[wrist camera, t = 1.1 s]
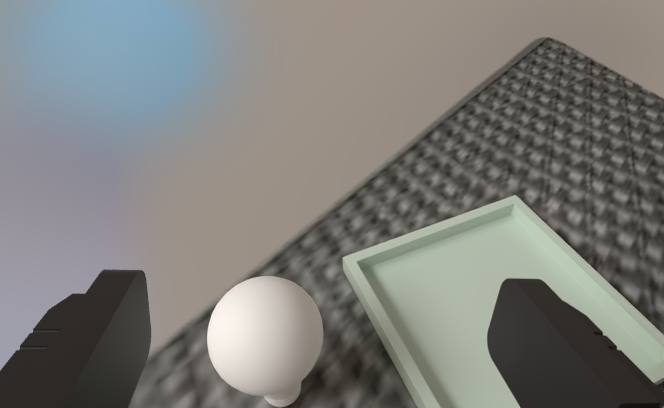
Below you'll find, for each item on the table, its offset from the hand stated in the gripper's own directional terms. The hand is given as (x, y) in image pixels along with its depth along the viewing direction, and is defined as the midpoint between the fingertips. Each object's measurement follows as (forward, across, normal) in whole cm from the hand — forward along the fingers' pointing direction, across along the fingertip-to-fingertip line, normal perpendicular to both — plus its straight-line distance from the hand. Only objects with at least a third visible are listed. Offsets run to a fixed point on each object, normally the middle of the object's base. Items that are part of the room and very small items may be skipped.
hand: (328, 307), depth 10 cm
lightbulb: (+14, 0, +17) cm, 22 cm away
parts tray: (+17, -15, +13) cm, 26 cm away
